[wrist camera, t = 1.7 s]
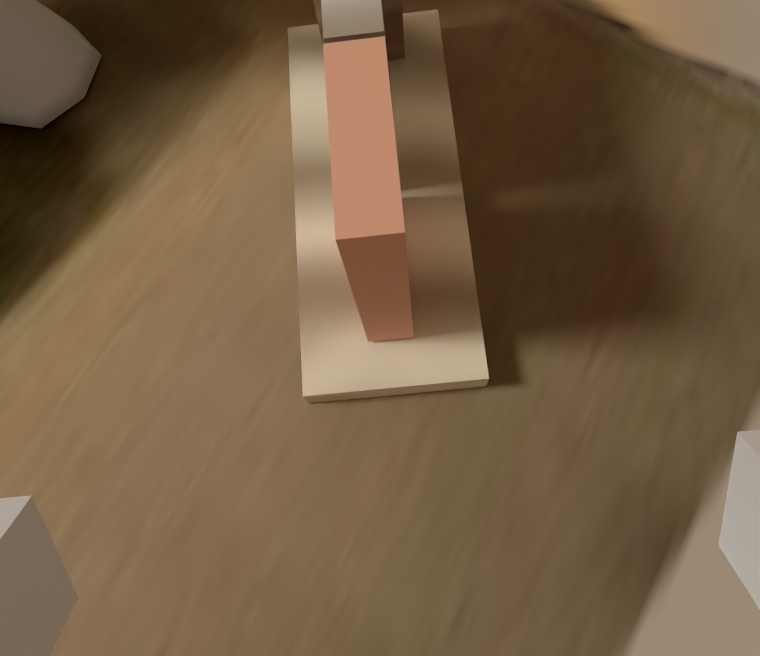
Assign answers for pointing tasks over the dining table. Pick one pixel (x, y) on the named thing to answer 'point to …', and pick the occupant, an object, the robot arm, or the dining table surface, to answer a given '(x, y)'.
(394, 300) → the stub
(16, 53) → the flask
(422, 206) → the ticket stand
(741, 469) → the robot arm
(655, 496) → the dining table surface
